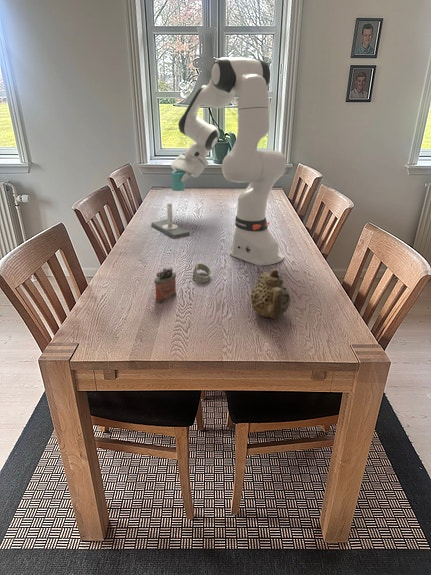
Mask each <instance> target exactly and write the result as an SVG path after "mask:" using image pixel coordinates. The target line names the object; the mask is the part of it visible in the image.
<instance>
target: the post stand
mask: <svg viewBox="0 0 431 575" xmlns="http://www.w3.org/2000/svg"><path fill="white" fill-rule="evenodd" d="M166 204H167V205H166V209H167V210H166V211H167V212H166V213H167V215H166V216H167V218H166V219H162V220H157V221H152V222H151V223H150V224H151V227H154V228H155V229H157V230H159V231H161V232H162V233H163V234H165V235H167V236H169V237H171V238H173V239H178V238H184V237H187V236H190V235H191V234H190V233H191V231H189V230H187V229H185V228H183V227H182V226H180V225H177V224H176V223H174V222H173V203H171V202H167V203H166Z"/></svg>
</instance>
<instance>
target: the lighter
mask: <svg viewBox="0 0 431 575" xmlns="http://www.w3.org/2000/svg"><path fill="white" fill-rule="evenodd" d="M173 269H174V268H173V267H168V268H166V267H164V268H163V269H162V270H160V271H158V272H156V277H155V279H154V287H155V303H156V304H164V303H166V302H168V300H169V301H170V299H171V300H173V299H174V298H175V297H177V289H176V288H177V287H176V277H177V273H176V272H173V271H174V270H173Z"/></svg>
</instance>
